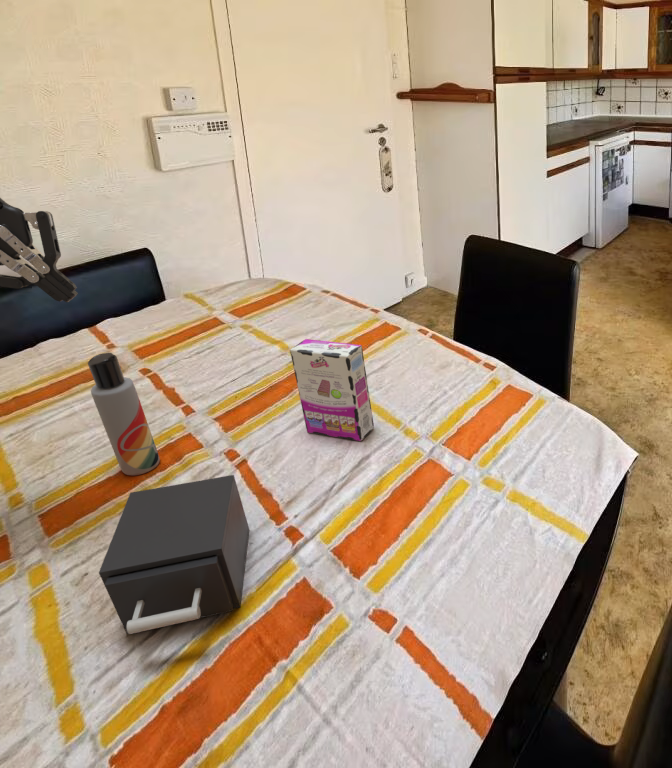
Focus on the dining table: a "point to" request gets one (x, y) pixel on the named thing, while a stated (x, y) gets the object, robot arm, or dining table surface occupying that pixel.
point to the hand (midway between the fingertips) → (72, 298)
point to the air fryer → (182, 530)
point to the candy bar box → (333, 388)
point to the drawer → (169, 594)
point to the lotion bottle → (122, 416)
